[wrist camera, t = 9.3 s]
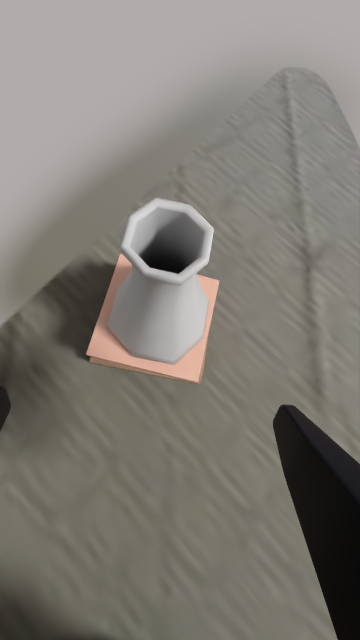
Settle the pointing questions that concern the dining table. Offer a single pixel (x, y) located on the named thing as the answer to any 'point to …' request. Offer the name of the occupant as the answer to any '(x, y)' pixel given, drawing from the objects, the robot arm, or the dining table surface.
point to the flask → (162, 281)
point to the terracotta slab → (114, 351)
